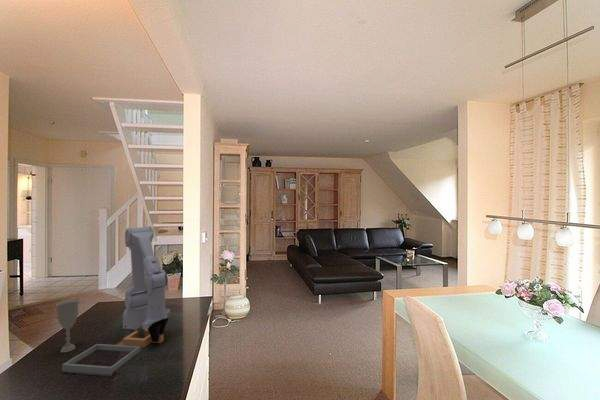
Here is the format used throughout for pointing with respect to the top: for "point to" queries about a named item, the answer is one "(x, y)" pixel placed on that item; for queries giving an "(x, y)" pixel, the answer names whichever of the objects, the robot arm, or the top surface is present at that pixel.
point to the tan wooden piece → (141, 335)
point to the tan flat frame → (140, 339)
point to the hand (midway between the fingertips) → (157, 339)
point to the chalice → (67, 319)
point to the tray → (99, 370)
